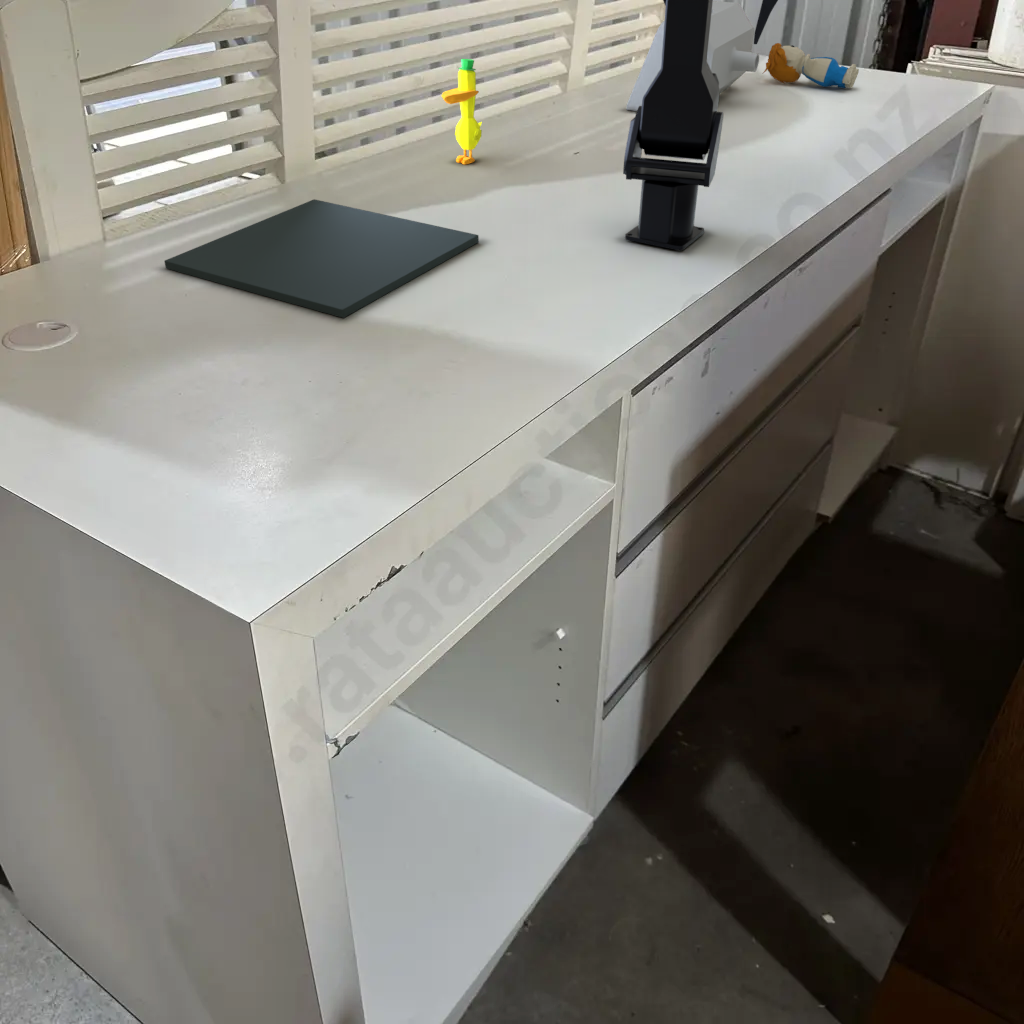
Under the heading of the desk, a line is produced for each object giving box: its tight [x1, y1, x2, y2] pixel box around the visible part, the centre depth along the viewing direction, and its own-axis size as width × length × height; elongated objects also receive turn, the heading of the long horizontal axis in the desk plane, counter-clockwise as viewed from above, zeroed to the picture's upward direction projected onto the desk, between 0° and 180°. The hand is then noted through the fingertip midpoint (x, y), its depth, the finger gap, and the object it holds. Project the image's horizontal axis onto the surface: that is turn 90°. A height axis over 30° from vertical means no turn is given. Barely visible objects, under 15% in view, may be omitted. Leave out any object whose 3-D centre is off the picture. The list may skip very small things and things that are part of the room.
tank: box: [625, 0, 760, 112], centre depth 147 cm, size 25×16×12 cm, turn 153°
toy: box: [762, 42, 860, 89], centre depth 158 cm, size 12×6×15 cm
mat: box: [164, 198, 480, 319], centre depth 95 cm, size 22×22×1 cm
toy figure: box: [441, 58, 483, 165], centre depth 119 cm, size 7×4×12 cm, turn 139°
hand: (716, 40), depth 113 cm, fingers open, 9 cm apart
